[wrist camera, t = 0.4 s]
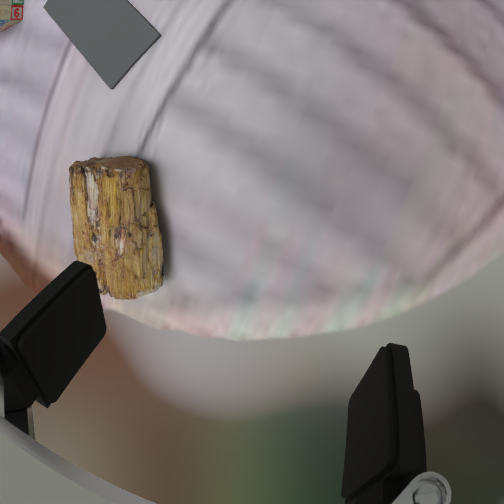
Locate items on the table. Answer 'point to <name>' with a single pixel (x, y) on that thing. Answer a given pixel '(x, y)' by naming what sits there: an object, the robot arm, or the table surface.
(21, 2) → the stack of blocks
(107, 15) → the mat
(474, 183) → the table surface
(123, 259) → the petrified wood
